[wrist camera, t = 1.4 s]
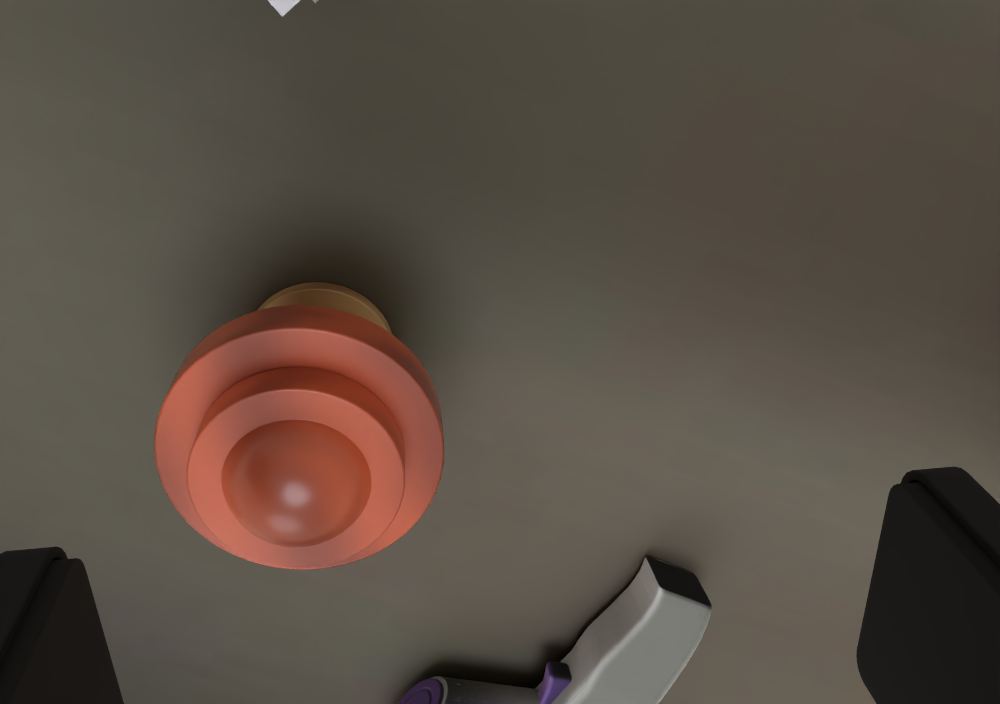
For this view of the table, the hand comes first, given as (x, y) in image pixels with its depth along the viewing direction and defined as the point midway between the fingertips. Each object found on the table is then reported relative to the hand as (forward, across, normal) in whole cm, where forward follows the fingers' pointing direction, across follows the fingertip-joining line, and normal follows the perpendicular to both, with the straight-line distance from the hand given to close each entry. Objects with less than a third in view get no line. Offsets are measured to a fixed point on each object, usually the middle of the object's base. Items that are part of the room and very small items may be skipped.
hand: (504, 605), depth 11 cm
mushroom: (+28, +5, +10) cm, 30 cm away
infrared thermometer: (+28, -5, +28) cm, 40 cm away
